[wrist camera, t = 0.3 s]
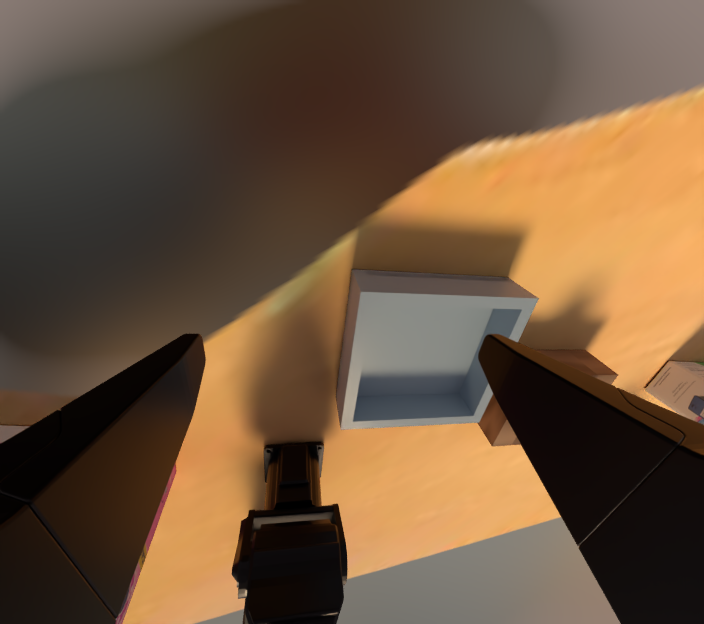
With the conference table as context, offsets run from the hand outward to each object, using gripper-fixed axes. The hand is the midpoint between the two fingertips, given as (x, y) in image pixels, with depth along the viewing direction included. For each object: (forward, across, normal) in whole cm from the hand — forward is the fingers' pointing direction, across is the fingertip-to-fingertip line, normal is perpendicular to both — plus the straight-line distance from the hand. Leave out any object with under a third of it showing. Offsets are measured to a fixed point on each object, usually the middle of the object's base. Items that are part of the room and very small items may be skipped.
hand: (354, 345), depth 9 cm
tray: (+14, -9, +10) cm, 20 cm away
